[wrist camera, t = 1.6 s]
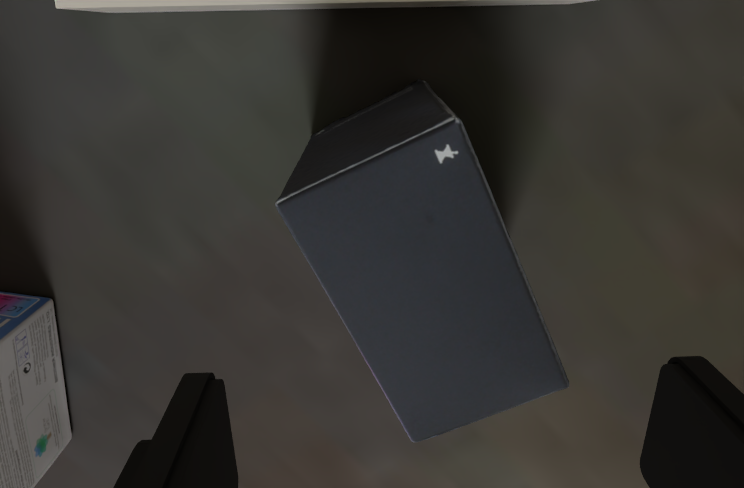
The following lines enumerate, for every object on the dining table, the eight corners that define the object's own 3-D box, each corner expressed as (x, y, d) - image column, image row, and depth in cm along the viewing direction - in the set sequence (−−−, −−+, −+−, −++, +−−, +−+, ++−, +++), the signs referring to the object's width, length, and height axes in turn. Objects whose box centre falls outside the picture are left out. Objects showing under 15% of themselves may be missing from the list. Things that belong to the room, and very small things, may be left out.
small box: (300, 136, 25) (258, 201, 16) (425, 74, 24) (464, 102, 15) (393, 312, 29) (408, 454, 19) (506, 264, 28) (581, 388, 18)
